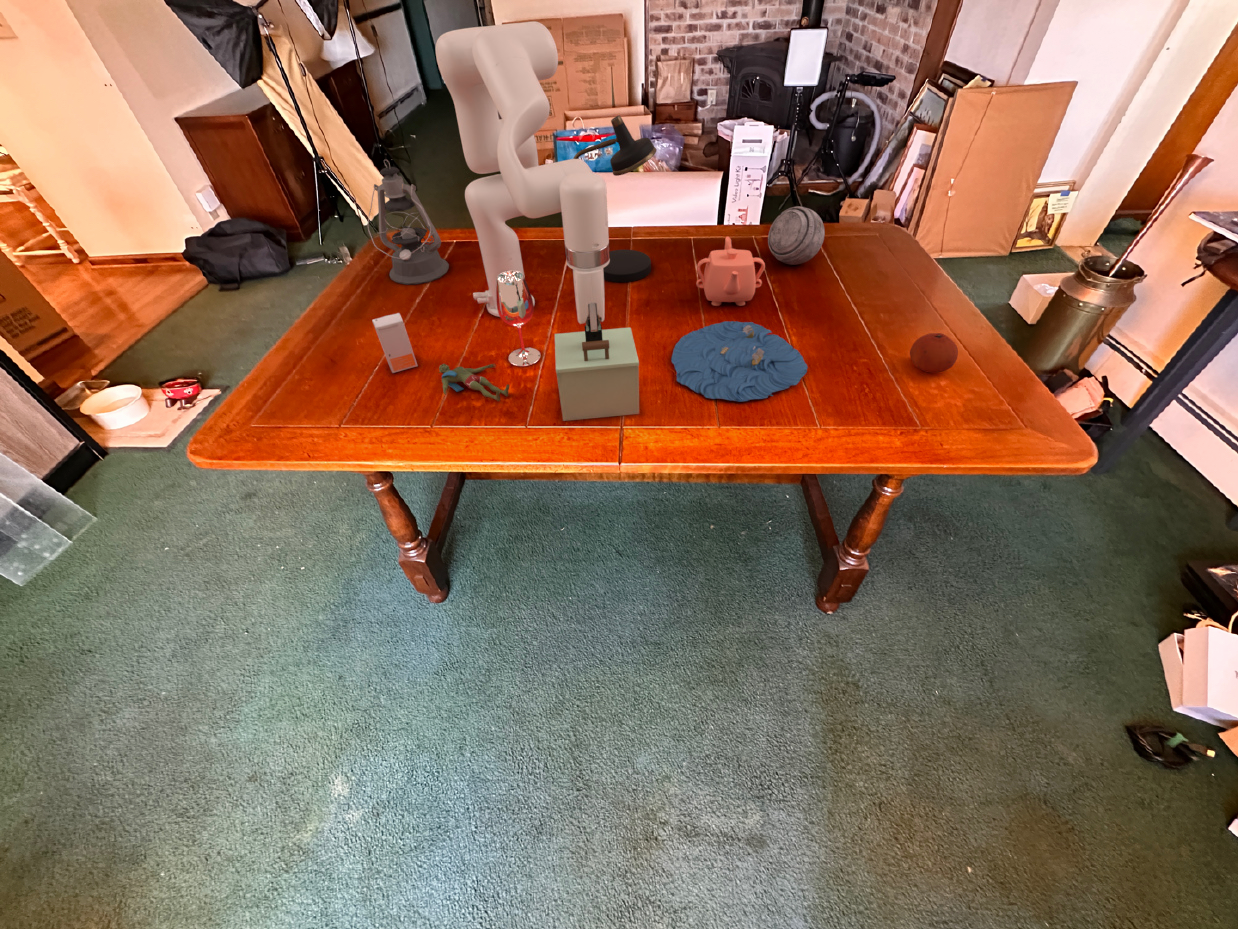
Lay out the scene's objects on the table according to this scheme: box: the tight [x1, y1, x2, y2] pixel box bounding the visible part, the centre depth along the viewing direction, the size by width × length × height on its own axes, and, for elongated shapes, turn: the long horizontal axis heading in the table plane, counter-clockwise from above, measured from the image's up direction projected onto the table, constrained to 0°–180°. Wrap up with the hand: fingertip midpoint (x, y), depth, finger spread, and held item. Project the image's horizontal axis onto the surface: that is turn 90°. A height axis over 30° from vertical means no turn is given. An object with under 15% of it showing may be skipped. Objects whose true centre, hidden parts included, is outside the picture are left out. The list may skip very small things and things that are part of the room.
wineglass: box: [496, 271, 542, 367], centre depth 123 cm, size 8×8×20 cm
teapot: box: [695, 236, 766, 307], centre depth 142 cm, size 15×17×13 cm
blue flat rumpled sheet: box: [670, 320, 809, 403], centre depth 123 cm, size 30×30×5 cm
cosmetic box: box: [371, 312, 419, 374], centre depth 125 cm, size 6×4×12 cm
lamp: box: [572, 114, 657, 284], centre depth 147 cm, size 16×22×38 cm
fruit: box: [909, 332, 959, 374], centre depth 119 cm, size 9×9×8 cm
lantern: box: [367, 159, 450, 286], centre depth 152 cm, size 18×20×30 cm
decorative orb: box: [767, 205, 826, 266], centre depth 154 cm, size 15×14×15 cm
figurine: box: [438, 363, 510, 402], centre depth 121 cm, size 16×4×18 cm
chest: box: [556, 365, 640, 422], centre depth 114 cm, size 13×16×12 cm
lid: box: [554, 327, 640, 374], centre depth 107 cm, size 13×16×5 cm
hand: (594, 344), depth 109 cm, fingers closed
